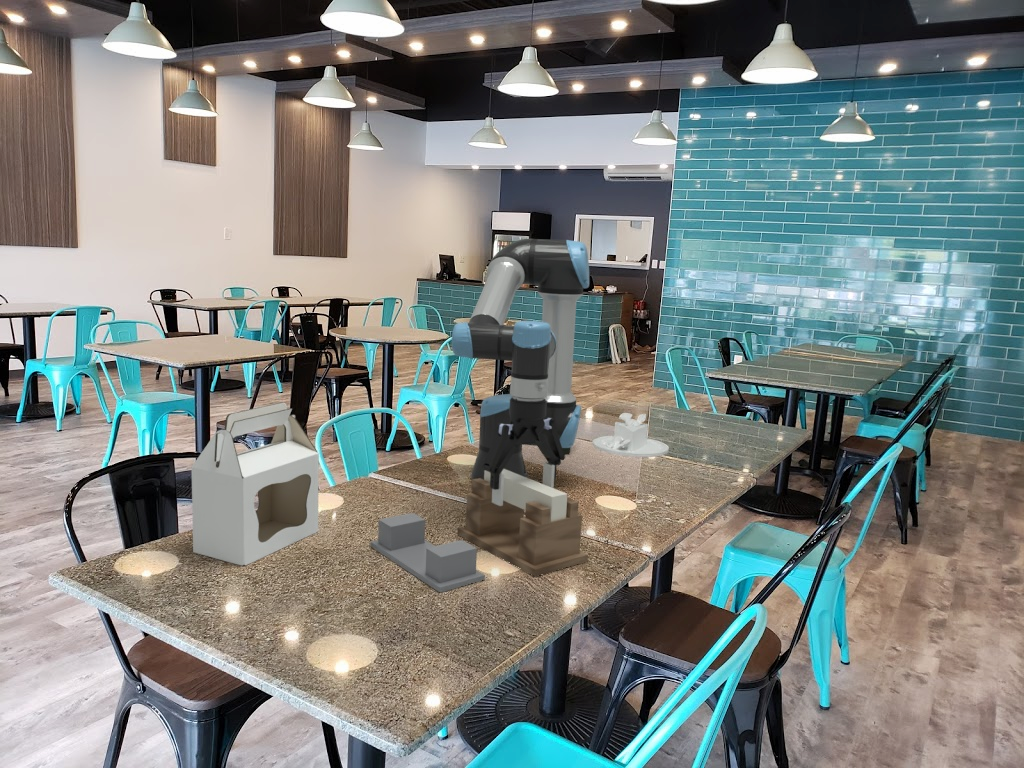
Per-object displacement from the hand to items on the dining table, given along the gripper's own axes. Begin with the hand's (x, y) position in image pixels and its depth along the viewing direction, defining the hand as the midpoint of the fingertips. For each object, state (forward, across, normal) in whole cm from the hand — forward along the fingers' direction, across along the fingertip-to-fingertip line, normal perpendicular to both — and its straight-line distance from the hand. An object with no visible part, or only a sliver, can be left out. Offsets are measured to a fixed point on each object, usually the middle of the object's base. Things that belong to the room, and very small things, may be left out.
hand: (523, 498), depth 158 cm
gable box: (+11, -44, +31) cm, 55 cm away
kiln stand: (+11, -21, +4) cm, 24 cm away
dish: (+11, +87, +49) cm, 100 cm away
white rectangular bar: (+1, 0, 0) cm, 1 cm away
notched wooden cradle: (+11, 0, 0) cm, 11 cm away
